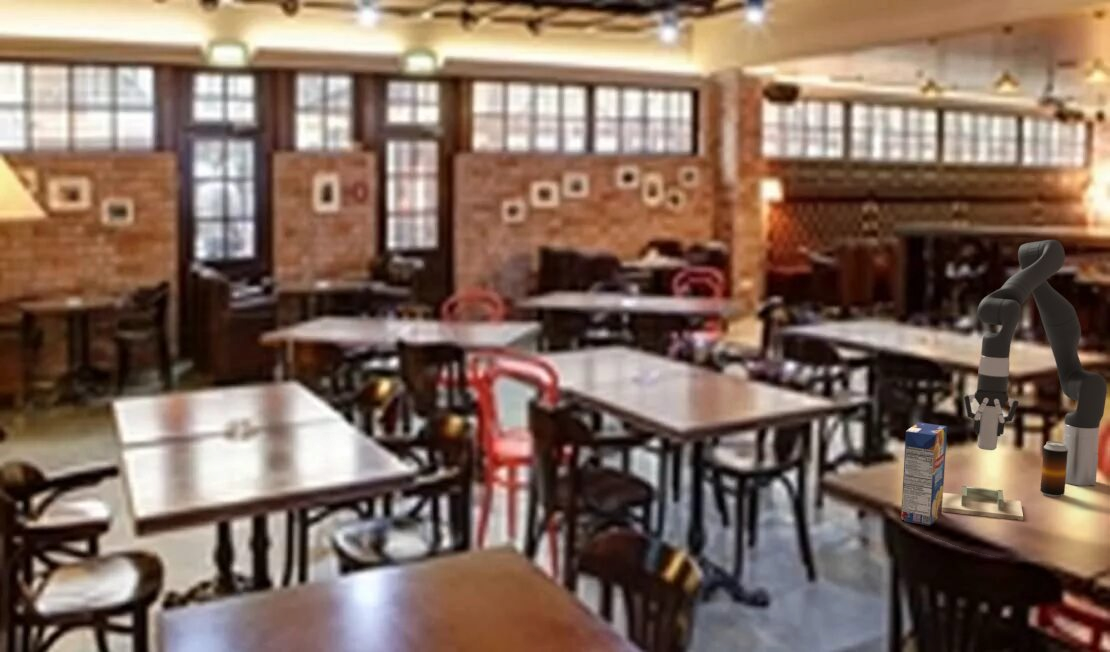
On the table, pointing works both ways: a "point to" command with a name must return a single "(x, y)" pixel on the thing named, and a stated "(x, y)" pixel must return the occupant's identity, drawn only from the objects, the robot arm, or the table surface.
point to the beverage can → (1054, 469)
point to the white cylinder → (988, 428)
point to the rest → (982, 503)
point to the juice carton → (923, 473)
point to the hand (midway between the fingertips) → (987, 434)
